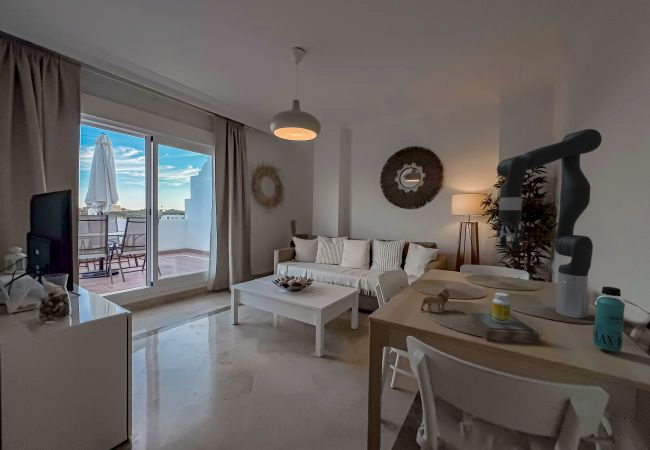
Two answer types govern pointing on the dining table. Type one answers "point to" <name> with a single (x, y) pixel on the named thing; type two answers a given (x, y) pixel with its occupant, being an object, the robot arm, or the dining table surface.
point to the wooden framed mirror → (502, 329)
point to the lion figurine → (436, 300)
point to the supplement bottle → (501, 308)
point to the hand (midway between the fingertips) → (509, 249)
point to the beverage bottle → (609, 320)
